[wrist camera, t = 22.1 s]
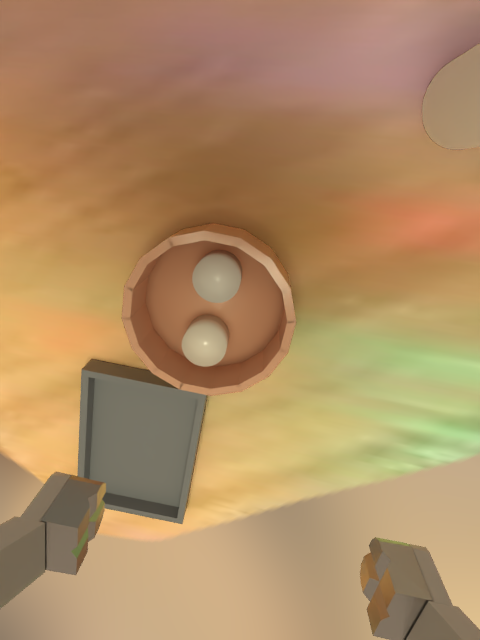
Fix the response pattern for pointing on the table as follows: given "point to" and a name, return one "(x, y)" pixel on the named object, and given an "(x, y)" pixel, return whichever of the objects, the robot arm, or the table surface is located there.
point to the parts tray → (138, 439)
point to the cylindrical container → (455, 103)
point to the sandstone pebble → (206, 340)
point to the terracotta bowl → (209, 310)
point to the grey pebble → (217, 276)
